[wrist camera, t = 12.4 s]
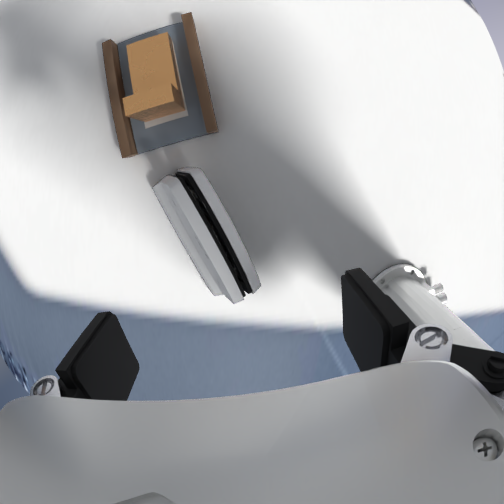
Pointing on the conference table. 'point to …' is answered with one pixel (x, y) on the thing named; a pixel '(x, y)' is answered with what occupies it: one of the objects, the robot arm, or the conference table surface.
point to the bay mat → (192, 118)
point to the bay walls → (118, 91)
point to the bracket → (153, 79)
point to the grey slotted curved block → (207, 233)
